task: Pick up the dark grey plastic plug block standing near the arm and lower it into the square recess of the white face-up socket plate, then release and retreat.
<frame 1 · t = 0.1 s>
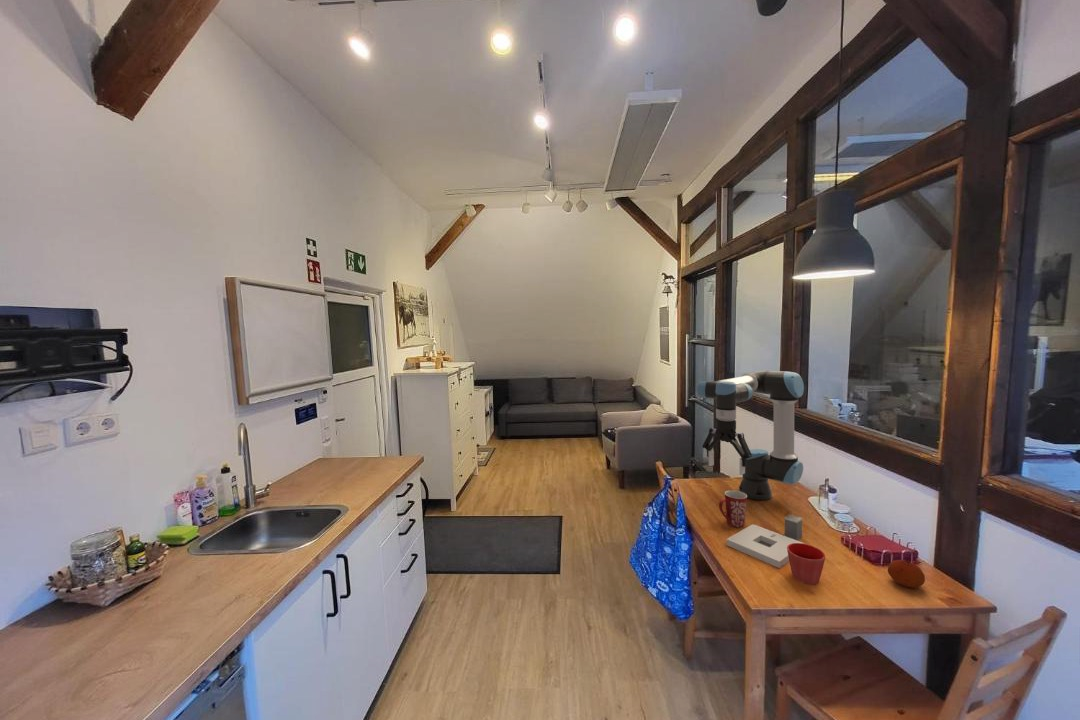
hand: (726, 469, 166), 28 cm above the table, fingers open, 13 cm apart
plug: (793, 536, 164), on the table
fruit: (905, 584, 133), on the table
socket plate: (764, 547, 157), on the table
flower pot: (805, 578, 137), on the table
mug: (732, 524, 177), on the table
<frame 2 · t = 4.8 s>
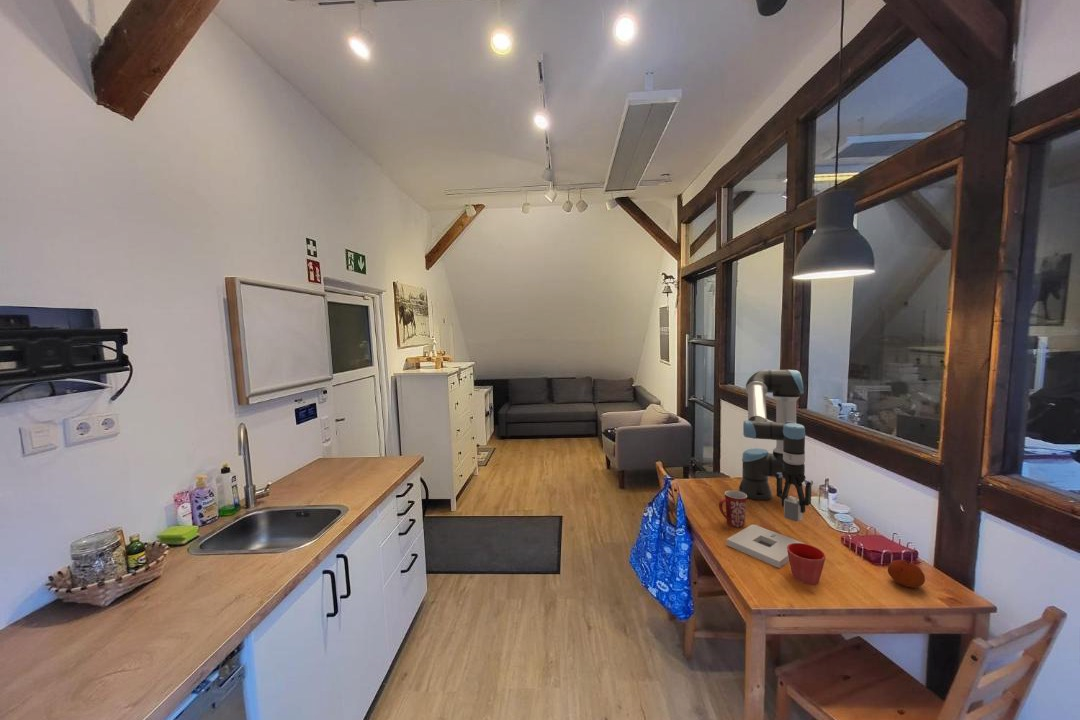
hand: (793, 516, 164), 8 cm above the table, fingers closed on plug, 4 cm apart
plug: (793, 517, 164), point 8 cm above the table, touching gripper
everything else where it was.
when the fingers open (4 cm above the table, at t = 8.5 s): plug drops 3 cm, resting on socket plate.
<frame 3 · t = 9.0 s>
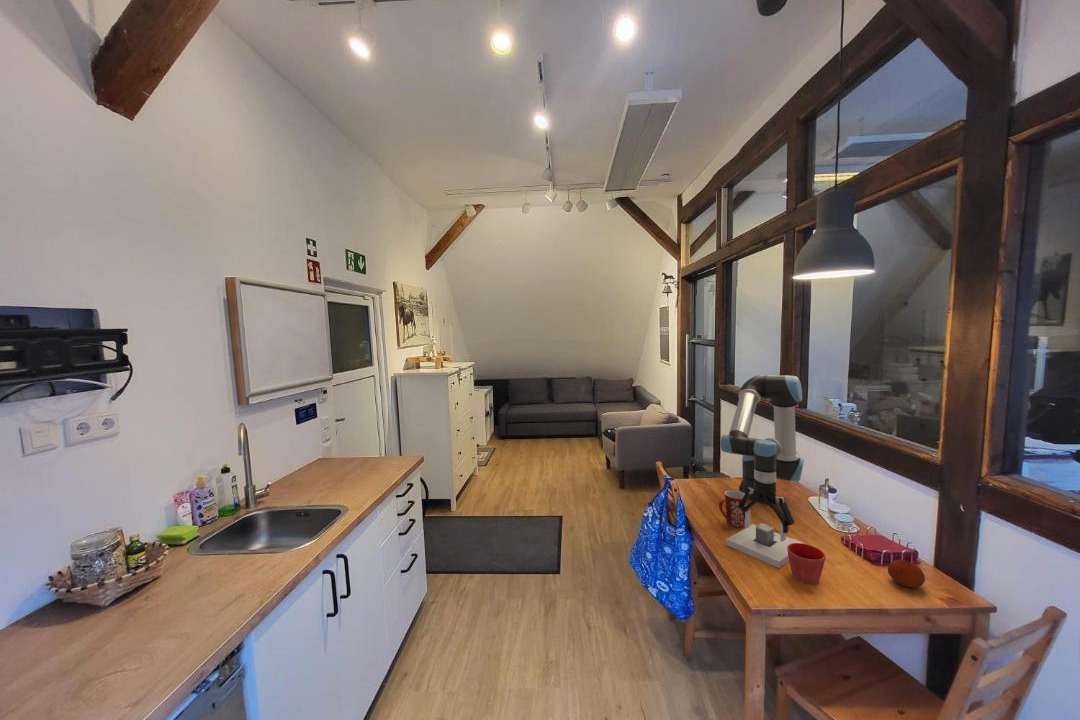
hand: (764, 533, 157), 6 cm above the table, fingers open, 13 cm apart
plug: (764, 546, 157), resting on socket plate
everything else where it was.
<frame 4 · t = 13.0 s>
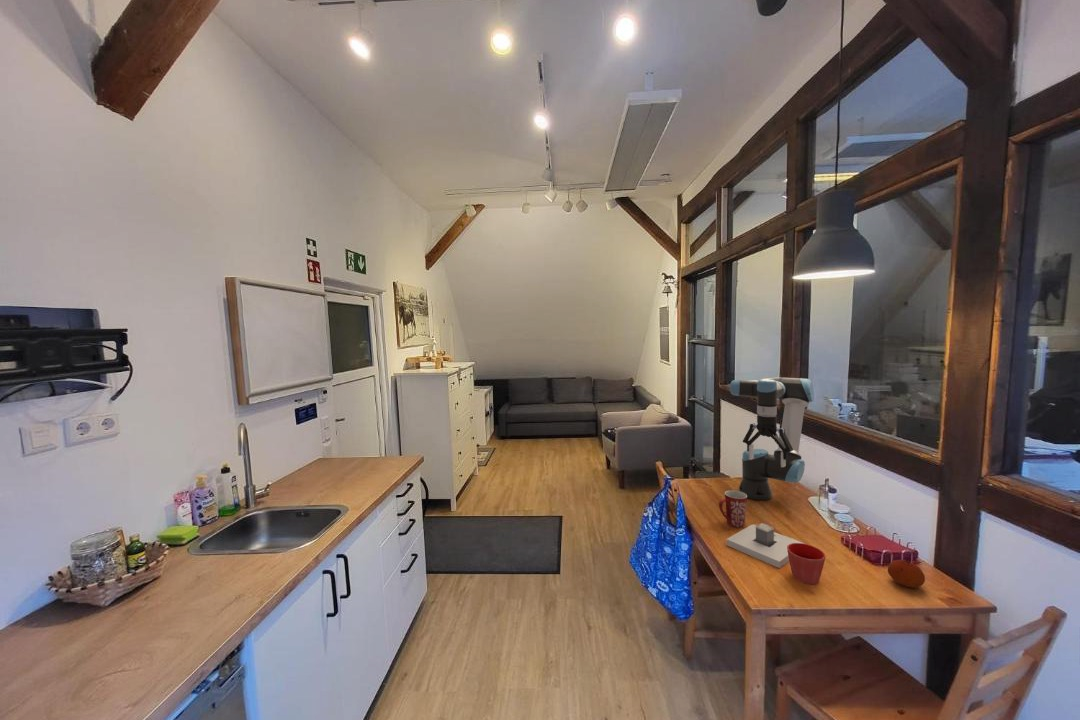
hand: (766, 462, 176), 27 cm above the table, fingers open, 13 cm apart
nothing on the table moved.
at the end: plug 0.1 cm off-centre on the socket plate, point 0.3 cm above the socket plate's base; plug tilted 0°; the gripper is holding nothing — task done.
